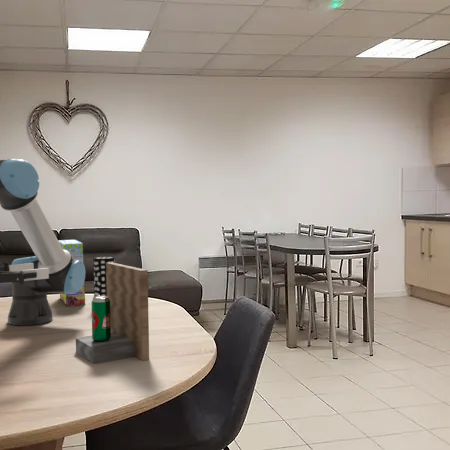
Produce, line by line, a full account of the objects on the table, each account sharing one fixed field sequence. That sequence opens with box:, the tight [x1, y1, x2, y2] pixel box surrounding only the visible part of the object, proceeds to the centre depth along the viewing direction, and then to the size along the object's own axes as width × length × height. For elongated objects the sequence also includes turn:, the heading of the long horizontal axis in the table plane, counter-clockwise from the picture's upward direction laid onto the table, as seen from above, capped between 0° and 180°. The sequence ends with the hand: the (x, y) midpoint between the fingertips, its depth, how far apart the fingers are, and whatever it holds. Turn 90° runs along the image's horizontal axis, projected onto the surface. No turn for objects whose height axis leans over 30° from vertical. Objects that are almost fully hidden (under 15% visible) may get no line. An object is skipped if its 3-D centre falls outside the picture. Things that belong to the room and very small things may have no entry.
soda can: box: [91, 296, 111, 342], centre depth 157 cm, size 5×5×12 cm
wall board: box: [75, 262, 150, 364], centre depth 157 cm, size 24×14×24 cm, turn 34°
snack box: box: [58, 239, 86, 306], centre depth 241 cm, size 22×9×26 cm, turn 23°
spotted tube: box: [92, 256, 116, 297], centre depth 225 cm, size 8×8×20 cm
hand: (40, 270), depth 155 cm, fingers open, 13 cm apart
